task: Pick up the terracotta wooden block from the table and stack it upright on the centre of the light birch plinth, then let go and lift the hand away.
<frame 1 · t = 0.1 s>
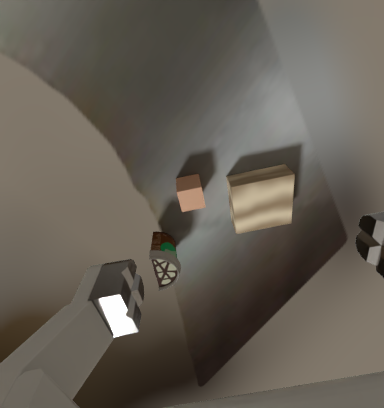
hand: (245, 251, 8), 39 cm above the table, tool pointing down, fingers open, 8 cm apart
food container: (168, 243, 60), on the table
terracotta block: (189, 185, 51), on the table
birch plinth: (256, 194, 54), on the table
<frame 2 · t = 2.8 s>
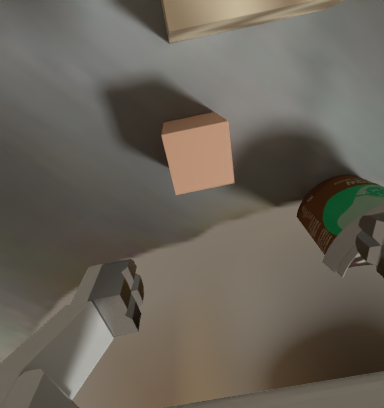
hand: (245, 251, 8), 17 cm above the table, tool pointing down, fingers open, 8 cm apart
food container: (337, 189, 27), on the table
terracotta block: (193, 142, 23), on the table
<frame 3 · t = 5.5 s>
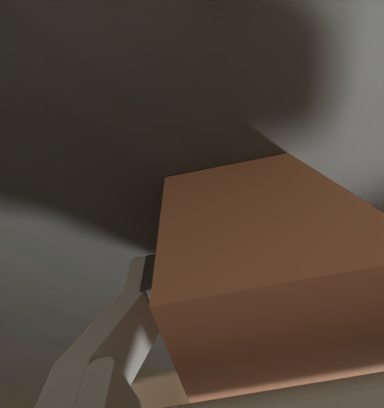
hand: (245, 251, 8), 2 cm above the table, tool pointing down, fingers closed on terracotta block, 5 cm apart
terracotta block: (232, 217, 10), on the table, touching gripper
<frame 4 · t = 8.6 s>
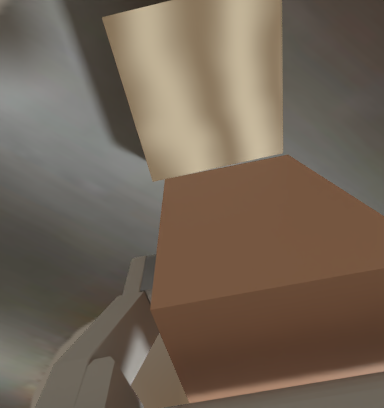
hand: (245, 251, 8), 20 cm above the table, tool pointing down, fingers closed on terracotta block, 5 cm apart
terracotta block: (232, 218, 10), point 17 cm above the table, touching gripper
birch plinth: (199, 93, 23), on the table
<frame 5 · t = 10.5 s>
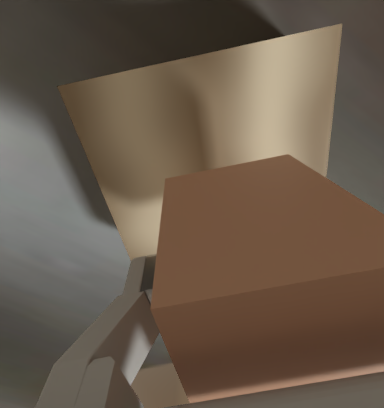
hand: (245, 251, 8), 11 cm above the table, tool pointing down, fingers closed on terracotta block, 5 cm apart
terracotta block: (232, 218, 10), point 8 cm above the table, touching gripper
birch plinth: (206, 160, 18), on the table
when the fingers open (9 cm above the table, at t = 11.8 s): terracotta block drops 1 cm, resting on birch plinth.
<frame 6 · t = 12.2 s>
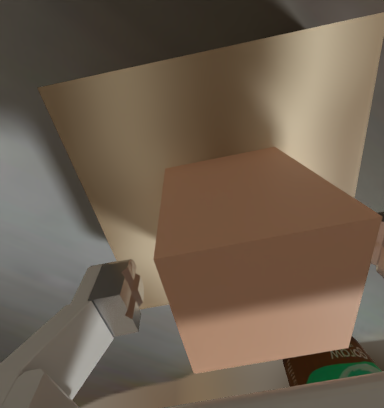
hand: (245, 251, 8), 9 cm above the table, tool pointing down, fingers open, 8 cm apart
food container: (323, 340, 27), on the table
terracotta block: (225, 205, 11), point 5 cm above the table, touching birch plinth
birch plinth: (213, 170, 16), on the table
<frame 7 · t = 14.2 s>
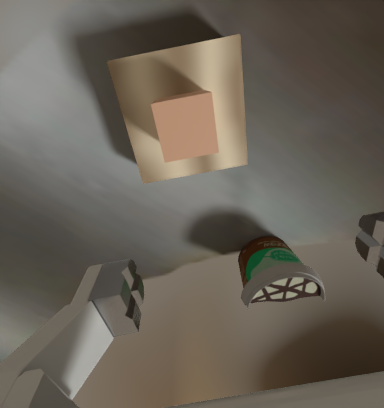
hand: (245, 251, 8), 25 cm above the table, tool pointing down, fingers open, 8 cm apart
food container: (264, 244, 40), on the table
terracotta block: (184, 119, 25), point 5 cm above the table, touching birch plinth
birch plinth: (184, 113, 29), on the table
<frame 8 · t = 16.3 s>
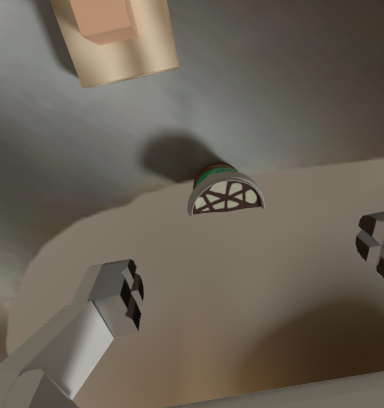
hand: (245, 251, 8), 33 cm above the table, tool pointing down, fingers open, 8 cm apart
food container: (216, 172, 42), on the table
terracotta block: (112, 15, 27), point 5 cm above the table, touching birch plinth
birch plinth: (121, 24, 31), on the table
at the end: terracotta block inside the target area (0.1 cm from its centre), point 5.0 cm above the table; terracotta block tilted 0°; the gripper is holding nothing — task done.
